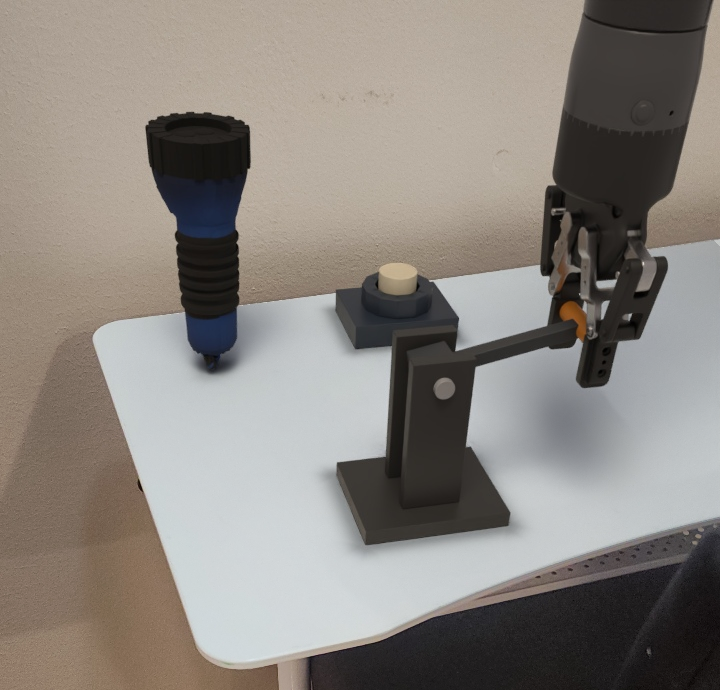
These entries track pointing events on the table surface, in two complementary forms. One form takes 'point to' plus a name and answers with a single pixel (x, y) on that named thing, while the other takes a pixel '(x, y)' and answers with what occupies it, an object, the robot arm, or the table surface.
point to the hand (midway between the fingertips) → (574, 363)
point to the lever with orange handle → (518, 339)
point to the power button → (397, 279)
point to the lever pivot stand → (424, 451)
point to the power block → (390, 311)
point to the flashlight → (203, 217)
